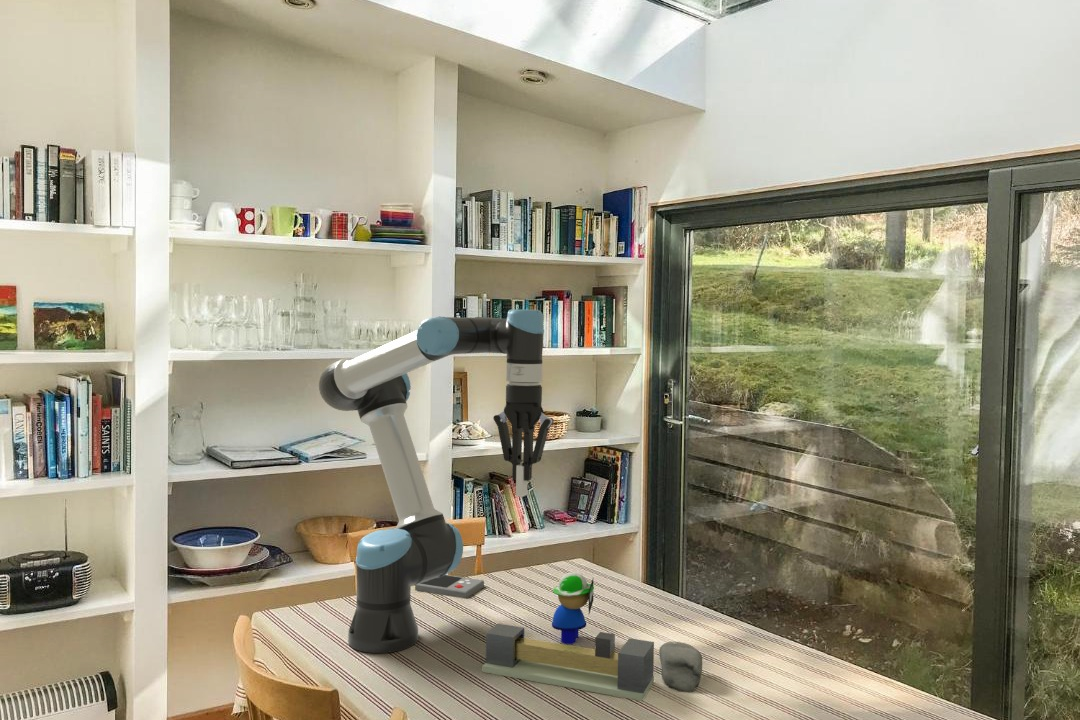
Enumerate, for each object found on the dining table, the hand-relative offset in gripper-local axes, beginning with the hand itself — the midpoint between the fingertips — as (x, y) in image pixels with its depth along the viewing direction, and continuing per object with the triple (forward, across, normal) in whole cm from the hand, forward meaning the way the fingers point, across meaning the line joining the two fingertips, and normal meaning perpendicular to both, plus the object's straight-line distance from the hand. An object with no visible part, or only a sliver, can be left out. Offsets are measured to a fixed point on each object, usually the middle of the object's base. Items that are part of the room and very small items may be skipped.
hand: (521, 495), depth 179 cm
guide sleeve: (+33, 0, -7) cm, 33 cm away
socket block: (+32, +28, -7) cm, 43 cm away
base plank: (+34, +14, -7) cm, 37 cm away
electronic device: (+35, -33, +32) cm, 58 cm away
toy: (+34, +8, +12) cm, 37 cm away
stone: (+34, +35, +1) cm, 48 cm away
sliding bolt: (+31, +14, -7) cm, 35 cm away
